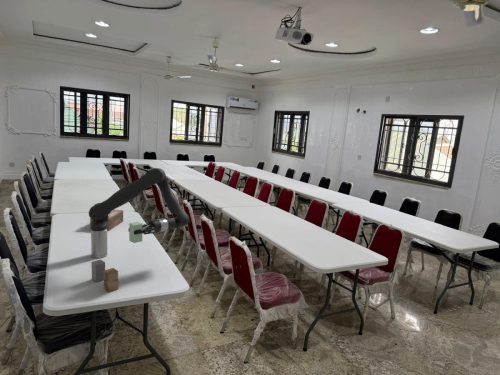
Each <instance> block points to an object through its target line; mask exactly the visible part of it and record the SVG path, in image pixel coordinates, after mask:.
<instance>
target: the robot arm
mask: <svg viewBox="0 0 500 375" xmlns="http://www.w3.org/2000/svg"><path fill="white" fill-rule="evenodd" d="M154 185H157V186H158V188H159V190H160V192H161V195H162V197H163V200H164V203H165V205H166V207H167V209H168V211H169V213H171V215H175V217H166V218H158V219H157V218H156V219H153V220H149V221H148V223H143V224H142V229H141V230H135V231H134V235H136V234H142V235H152V234H157V233H161V232H165V231H168V230H172V229H179V228H182V227H183V228H184V227H185V226H187V225H188V224H189V223H190V217H189V215H188V213H186V211H185V210H184V209H183V208H182V207H181V205H180V204H179V201H178V200H177V198H176V195H175V193H174V192H173V190H172V189H171V186H170V183H169V181H168V178H167V176H166V172H165V171H164V169H162V168H159V167H153V168H151V169H150V170H149V171H147V172H146V173H145V174H143V176H141V177H139V178H138V179H136V180H133V181H132V182H130V183H128V184H126V185H125V186H123V187H121V188H119V190H117V191H116V192H115V193H113V194H112V195H111V196H109V197H108V198H107V199H105V200H104V201H102V202H98V203H95V204H94V205H93V206H91V207H90V208H89V210H88V216H89V219H90V218H91V219H93V221H92V224H91V229H90V249H91V250H90V251H91V257H92V258H95V259H100V258H104V257H107V256H108V231H107V225H108V213H109V212H111V211H112V210H117V209H119V207H122V206H124V205H126V204H128V203H129V202H131V201H132V200H134V199H136V198H137V197H139V195H141V193H143V192H144V191H145V190H146V189H148V188H150V187H152V186H154ZM127 232H129V228H128V231H127Z"/></svg>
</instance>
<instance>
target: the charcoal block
mask: <svg viewBox="0 0 500 375" xmlns="http://www.w3.org/2000/svg"><path fill="white" fill-rule="evenodd" d="M104 270H106V262H105V261H104V260H103V259H98V260H94V261H91V280H92V281H94V282H95V283H100V282H102V281H103V282H104Z"/></svg>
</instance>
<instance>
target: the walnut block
mask: <svg viewBox="0 0 500 375" xmlns="http://www.w3.org/2000/svg"><path fill="white" fill-rule="evenodd" d="M103 289H104V290H105V291H106V292H107V293H111V292H114V291H118V290H119V270H117V269H116V268H115V267H112V268H111V267H110V268H108V269H105V270H104V280H103Z"/></svg>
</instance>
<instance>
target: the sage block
mask: <svg viewBox="0 0 500 375" xmlns="http://www.w3.org/2000/svg"><path fill="white" fill-rule="evenodd" d="M142 225H143V222H140V221H134V222H129V223H128V229H129V231H128V235H129V236H128V237H129V242H131V243H133V244H136V243H140V242H143V234H136V235H134V231H135V230H141V229H142Z"/></svg>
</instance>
